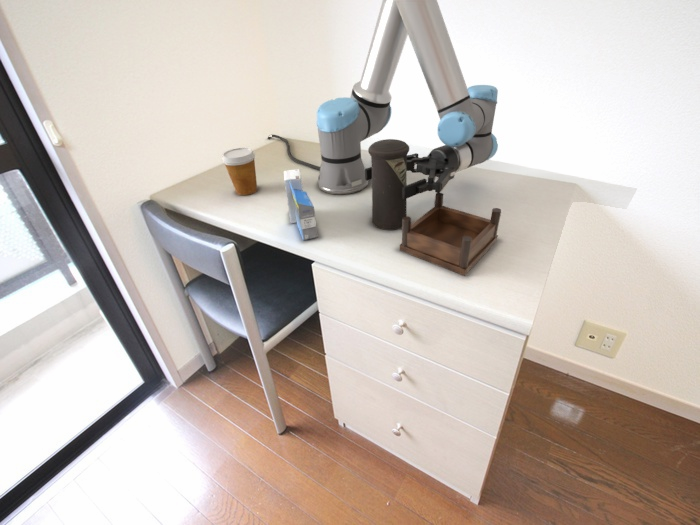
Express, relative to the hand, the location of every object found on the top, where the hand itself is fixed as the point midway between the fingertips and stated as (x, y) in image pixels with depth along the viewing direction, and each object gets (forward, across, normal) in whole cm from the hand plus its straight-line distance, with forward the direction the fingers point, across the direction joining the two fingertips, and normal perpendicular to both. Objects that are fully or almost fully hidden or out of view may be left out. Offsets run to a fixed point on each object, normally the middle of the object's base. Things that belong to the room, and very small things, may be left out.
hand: (383, 183), depth 85 cm
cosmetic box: (+14, +18, -11) cm, 26 cm away
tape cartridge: (+16, +10, -11) cm, 22 cm away
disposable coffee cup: (+19, +43, -11) cm, 49 cm away
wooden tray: (-5, -17, -11) cm, 20 cm away
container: (-2, 0, -11) cm, 11 cm away
